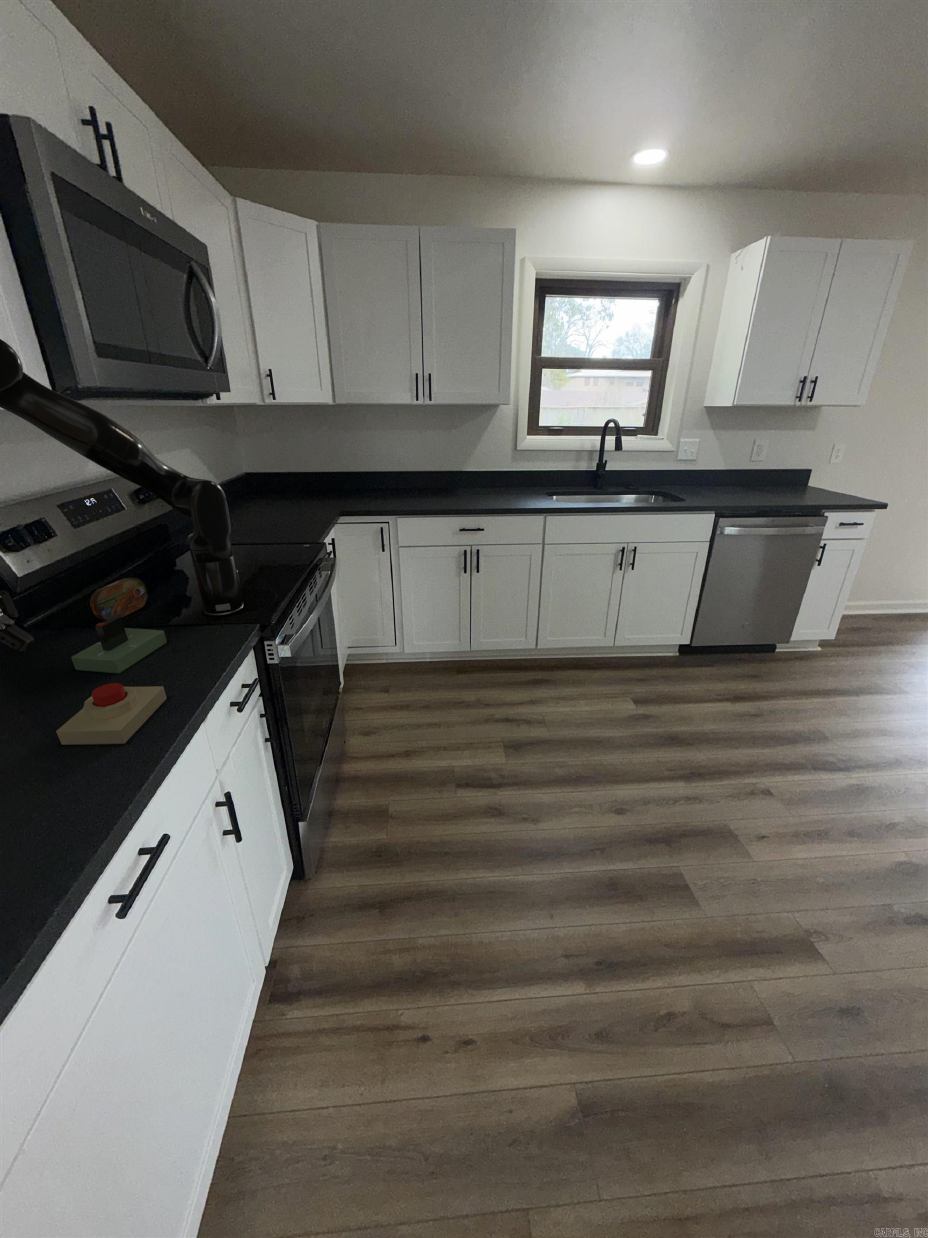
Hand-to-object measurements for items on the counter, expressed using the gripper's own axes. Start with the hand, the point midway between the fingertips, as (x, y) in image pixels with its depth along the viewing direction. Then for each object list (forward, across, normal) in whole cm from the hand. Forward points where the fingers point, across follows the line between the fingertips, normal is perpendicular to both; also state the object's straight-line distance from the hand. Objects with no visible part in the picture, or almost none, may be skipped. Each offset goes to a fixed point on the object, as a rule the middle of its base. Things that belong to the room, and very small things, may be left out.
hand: (29, 645), depth 78 cm
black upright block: (+6, +23, +10) cm, 26 cm away
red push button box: (+17, 0, +4) cm, 17 cm away
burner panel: (+8, +24, +12) cm, 28 cm away
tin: (0, +47, +21) cm, 52 cm away
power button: (+14, 0, +1) cm, 14 cm away
